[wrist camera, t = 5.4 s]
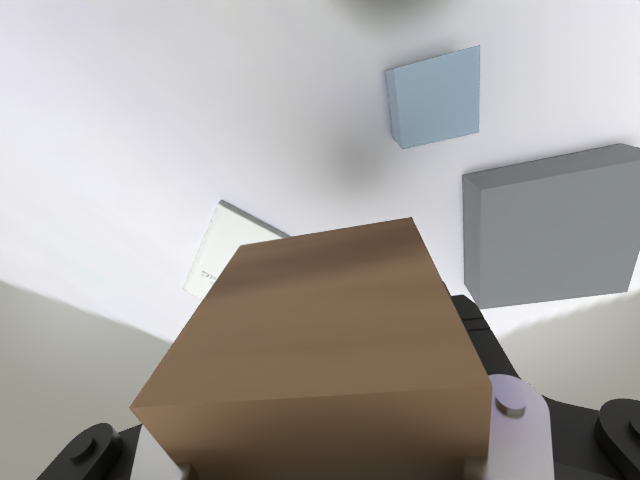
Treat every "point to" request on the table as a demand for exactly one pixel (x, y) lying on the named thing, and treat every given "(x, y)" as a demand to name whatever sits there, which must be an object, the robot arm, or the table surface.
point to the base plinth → (552, 227)
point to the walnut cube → (323, 366)
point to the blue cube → (435, 98)
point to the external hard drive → (225, 245)
